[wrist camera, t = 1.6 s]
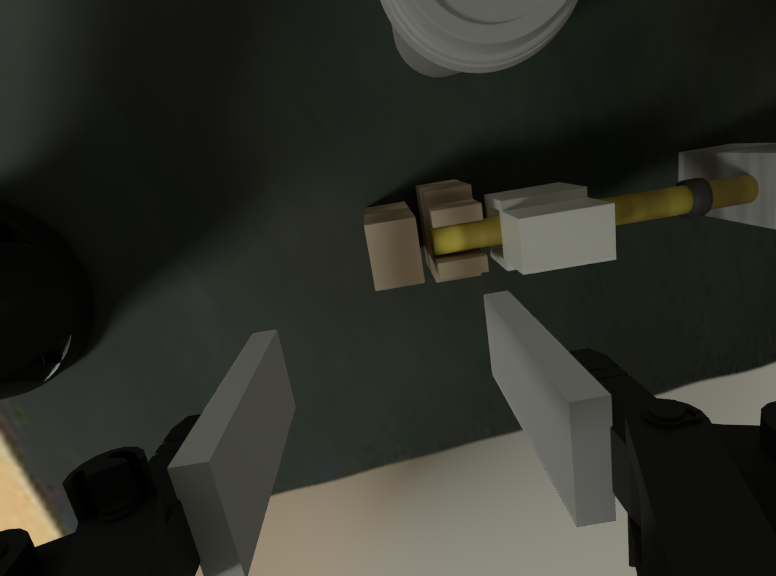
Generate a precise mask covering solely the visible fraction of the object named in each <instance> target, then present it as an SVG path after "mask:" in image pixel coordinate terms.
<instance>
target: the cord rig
mask: <svg viewBox="0 0 776 576" xmlns="http://www.w3.org/2000/svg"><path fill="white" fill-rule="evenodd" d="M415 187H416V194H417V201H418V208H419V215H420V222H421V229H422V236H423V243H424V250H425V257H426V263H427V265H428V267H429V269H430V271H431V273H432V274H433V276H434V278H435V280H436V282H437V283H438V282H444V281H450V280H456V279H462V278H468V277H474V276H480V275H481V273H482V272H488V271H489V269H488V260H487V255H486V254H485V253H484V252H482V251H481V250H480V249H479V248H484V247H490V246H496V245H502V234H501V223H500V216H496V217H490V218H484V219H483V213H482V204H481V203H480V202H478V201H476V200H474V199H473V198H472V189H471V185H470V184H468V183H465V182H462V181H459V180H456V179H453V180H447V181H441V182H435V183H429V184H423V185H417V186H415ZM598 200H603V201H607V202H612V203H615V226H616V225H622V224H628V223H634V222H640V221H646V220H652V219H658V218H664V217H670V216H676V215H679V216H680V217H682V218H685V219H686V218H693V217H699V216H704V215H705V216H710V217H715V218H720V219H725V220H730V221H736V222H741V223H746V224H751V225H756V226H761V227H767V228H772V229H776V143H739V144H726V145H720V146H714V147H708V148H702V149H696V150H690V151H684V152H679V169H678V183H677V184H676V186H675V187H669V188H663V189H657V190H651V191H645V192H639V193H633V194H627V195H621V196H615V197H609V198H603V199H598ZM364 227H365V233H366V239H367V244H368V250H369V256H370V261H371V267H372V273H373V278H374V284H375V290H376V291H379V290H385V289H391V288H397V287H403V286H409V285H415V284H421V283H425V280H424V273H423V266H422V260H421V253H420V246H419V239H418V232H417V225H416V218H415V216H414V215H413V213H412V212H411V210H410V209H409V207H408V206H407V205H406V203H405V202H404V201H403V202H397V203H391V204H385V205H379V206H373V207H367V208H365V220H364Z"/></svg>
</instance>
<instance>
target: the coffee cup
mask: <svg viewBox="0 0 776 576" xmlns="http://www.w3.org/2000/svg"><path fill="white" fill-rule="evenodd" d="M380 1H381V3H382V6H383V8H384V10H385V12H386V14H387V16H388V18H389V20H390V22H391V23H392V29H393V35H394V40H395V44H396V47H397V49H398V51H399V53H400V55H401V56H402V58H403V59H404V61H405V62H406V63H407V64H408V65H409V66H410V67H411V68H413V69H414V70H415V71H417V72H419V73H421V74H423V75H426V76H430V77H447V76H451V75H454V74H457V73H460V72H467V73H486V72H493V71H498V70H502V69H505V68H508V67H511V66H514V65H516V64H518V63H520V62H522V61H524V60H526V59H528V58H529V57H531V56H533V55H534V54H535V53H537V52H538V51H539V50H541V49H542V48H543V47H544V46H545V45H547V44H548V43H549V42H550V41H551V40H552V39H553V38H554V37H555V35H556V34H557V33H558V32H559V31H560V29H561V28H562V27H563V25H564V24H565V23H566V21H567V20H568V18H569V17H570V15H571V13H572V11H573V9H574V8H575V6H576V4H577V2H578V0H380Z"/></svg>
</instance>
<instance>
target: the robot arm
mask: <svg viewBox="0 0 776 576" xmlns="http://www.w3.org/2000/svg"><path fill="white" fill-rule="evenodd" d="M484 304H485V313H486V321H487V330H488V339H489V348H490V357H491V366H492V374H493V376H494V378H495V380H496V382H497V384H498V385H499V387H500V389H501V391H502V393H503V394H504V396H505V398H506V400H507V402H508V403H509V405H510V407H511V409H512V411H513V412H514V414H515V416H516V418H517V420H518V421H519V423H520V425H521V427H522V429H523V431H524V432H525V434H526V436H527V438H528V440H529V441H530V443H531V445H532V446H533V448H534V450H535V452H536V454H537V456H538V458H539V459H540V461H541V463H542V465H543V467H544V469H545V470H546V472H547V474H548V476H549V478H550V479H551V481H552V483H553V485H554V487H555V488H556V490H557V492H558V494H559V495H560V497H561V499H562V501H563V503H564V504H565V506H566V508H567V510H568V512H569V514H570V515H571V517H572V519H573V521H574V523H575V525H576V526H577V527H580V526H586V525H592V524H599V523H605V522H611V521H616V512H615V496H616V497H617V499H618V500H619V502H620V503H621V504H622V506H623V507H624V509H625V510H626V511H627V513H628V544H629V566H631V567H636V571H637V576H776V401H775V402H771V403H768V404H767V405H765V406H764V407H763V408H762V409H761V421H760V426H753V425H722V424H712V423H711V421H710V420H709V418H708V417H707V416H706V415H705V414H704V413H703V412H702V411H701V410H699V409H697V408H695V407H693V406H691V405H689V404H687V403H683V402H679V401H676V400H670V399H659V398H656V397H654V396H653V395H652V394H651V393H650V392H649V391H647V390H646V389H645V388H644V387H643V386H642V385H641V384H639V383H638V382H637V381H636V380H635V379H634V378H632V377H631V376H628V373H627V372H625V371H624V370H623V369H622V368H621V367H618V365H617V364H616V363H615V362H614V361H613V360H611V359H610V358H609V357H608V356H607V355H604V354H602V353H599V352H597V351H594V350H592V349H589V348H587V349H581V350H575V351H569V352H568V351H567V350H566V349H565V348H564V347H563V346H562V345H561V344H560V343H559V342H558V341H557V340H556V339H555V338H554V337H553V336H552V335H551V334H550V333H549V332H548V331H547V330H546V329H545V328H544V327H543V326H542V325H541V324H540V323H539V322H538V321H537V320H536V319H535V318H534V317H533V316H532V315H531V314H530V313H529V312H528V310H527V309H526V308H525V307H524V306H523V305H522V304H521V303H520V302H519V301H518V300H517V299H516V298H515V297H514V296H513V295H512V294H511V293H510V292H509V291H503V292H497V293H491V294H485V295H484ZM93 318H94V304H93V296H92V291H91V287H90V284H89V281H88V278H87V276H86V273H85V271H84V269H83V267H82V265H81V264H80V262H79V260H78V259H77V257H76V256H75V254H74V253H73V251H72V250H71V249H70V247H69V246H68V245H67V244H66V243H65V242H64V240H63V239H62V238H61V237H60V236H59V235H58V234H56V233H55V232H54V231H53V230H52V229H51V228H49V227H48V226H47V225H46V224H44V223H43V222H41V221H40V220H38V219H37V218H35V217H34V216H32V215H30V214H28V213H26V212H24V211H22V210H20V209H18V208H16V207H13V206H10V205H7V204H4V203H1V202H0V400H1V399H5V398H9V397H13V396H17V395H20V394H23V393H26V392H29V391H31V390H33V389H36V388H38V387H40V386H42V385H43V384H45V383H47V382H48V381H50V380H51V379H53V378H54V377H55V376H57V375H58V374H60V373H61V372H62V371H64V370H65V369H66V368H68V367H69V366H70V365H71V364H72V363H73V362H74V361H75V360H76V359H77V358H78V357H79V355H80V354H81V352H82V351H83V349H84V348H85V346H86V344H87V342H88V339H89V337H90V334H91V330H92V325H93ZM295 407H296V406H295V402H294V398H293V394H292V390H291V386H290V382H289V378H288V373H287V369H286V365H285V361H284V357H283V353H282V349H281V345H280V341H279V336H278V332H277V329H275V330H269V331H263V332H257V333H252V335H251V337H250V338H249V340H248V341H247V343H246V345H245V346H244V348H243V349H242V351H241V352H240V354H239V356H238V357H237V359H236V360H235V362H234V363H233V365H232V367H231V368H230V370H229V371H228V373H227V375H226V376H225V378H224V379H223V381H222V382H221V384H220V386H219V387H218V389H217V390H216V392H215V393H214V395H213V397H212V398H211V400H210V401H209V403H208V405H207V406H206V408H205V409H204V411H203V412H202V414H198V415H192V416H188V417H186V418H185V419H184V420H183V421H181V422H180V423H179V424H178V425H176V426H175V427H174V428H172V430H171V431H170V432H169V434H168V435H167V437H166V438H165V439H164V441H163V442H162V443H163V445H160V447H159V448H158V449H157V451H156V452H155V456H152V458H151V459H150V461H149V462H148V460H147V458H146V455H145V452H144V450H143V449H141V448H139V447H122V448H118V449H114V450H110V451H108V452H105V453H103V454H100V455H97V456H95V457H93V458H92V459H90V460H88V461H86V462H85V463H83V464H81V465H80V466H79V467H77V468H76V469H75V470H74V471H72V472H71V473H70V474H69V475H68V476H67V478H66V479H65V480H64V482H63V483H62V484H63V486H64V489H65V491H66V493H67V496H68V498H69V501H70V503H71V505H72V508H73V510H74V513H75V515H76V517H77V520H78V522H79V523H78V526H77V529H76V532H74V533H72V534H70V535H67V536H64V537H61V538H59V539H56V540H53V541H50V542H48V543H45V544H42V545H40V546H37V547H34V544H33V542H32V540H31V538H30V536H29V533H28V532H27V531H25V530H23V529H20V528H19V529H8V530H4V531H1V532H0V576H195V574H196V572H197V569H198V567H199V565H200V566H201V569H202V572H203V575H204V576H248V572H249V569H250V566H251V562H252V559H253V555H254V551H255V548H256V545H257V541H258V538H259V534H260V531H261V527H262V524H263V520H264V516H265V513H266V509H267V506H268V502H269V499H270V495H271V492H272V488H273V485H274V481H275V478H276V474H277V471H278V467H279V464H280V460H281V457H282V453H283V450H284V446H285V443H286V439H287V436H288V432H289V429H290V425H291V422H292V418H293V414H294V411H295Z"/></svg>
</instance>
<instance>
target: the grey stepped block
mask: <svg viewBox="0 0 776 576" xmlns="http://www.w3.org/2000/svg"><path fill="white" fill-rule="evenodd" d="M484 198H485V208H486V217H487V218H490V217H496V216H500V223H501V234H502V245H496V246H490V256H491V257H492V258H493V259H494V260H495V261H497V262H498V263H499V264H500V265H501V266H502V267H503V268H505V269H506V270H507V271H511V270H518V271H519V272H520V273H522V274H523V275H525V274H531V273H537V272H543V271H549V270H555V269H561V268H567V267H573V266H579V265H585V264H591V263H597V262H603V261H609V260H615V259H616V235H615V203H612V202H607V201H603V200H598V199H593V198H589V197H587V187H585V186H579V185H573V184H567V183H561V182H557V183H551V184H545V185H539V186H533V187H527V188H521V189H515V190H510V191H504V192H498V193H492V194H486V195H484Z"/></svg>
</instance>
